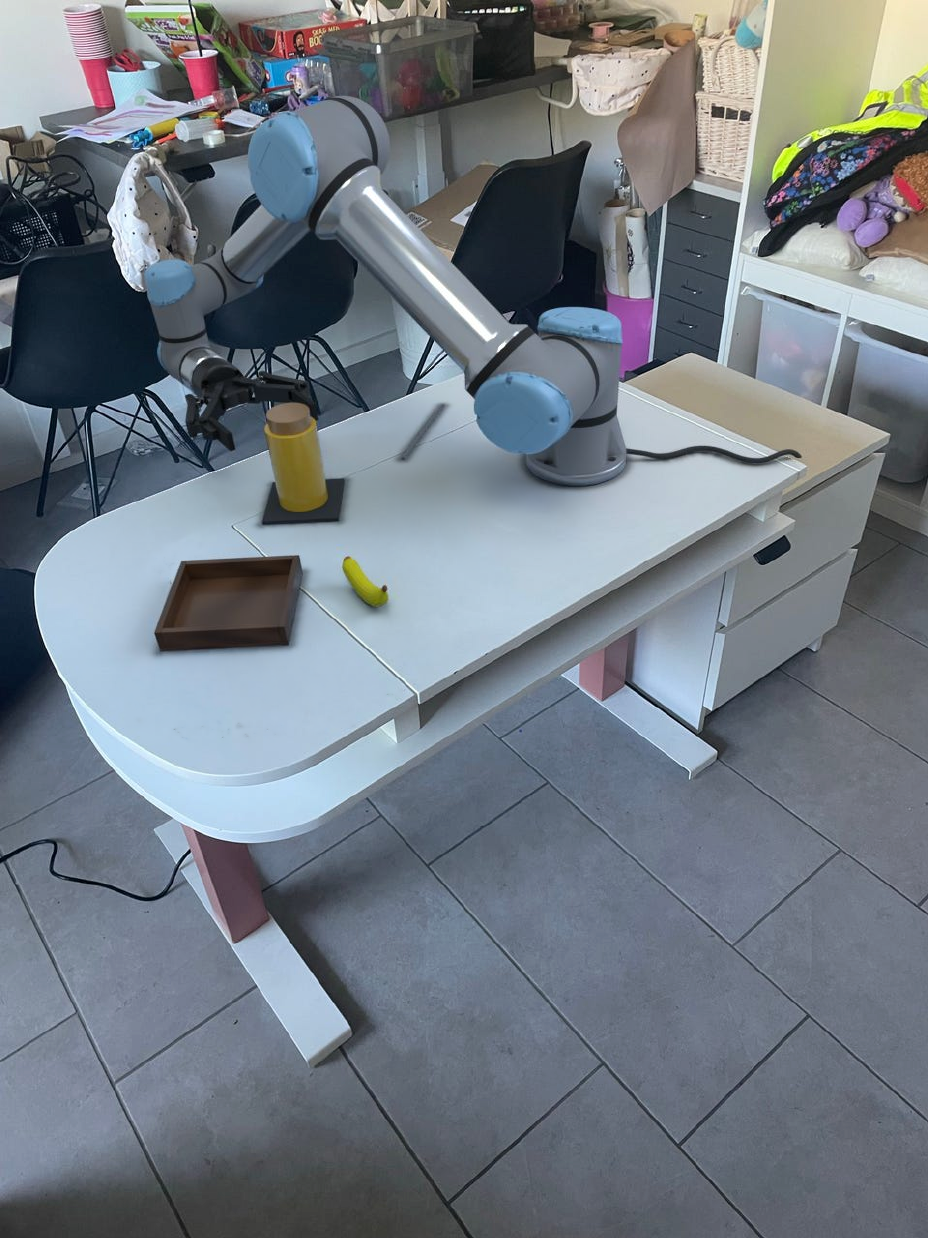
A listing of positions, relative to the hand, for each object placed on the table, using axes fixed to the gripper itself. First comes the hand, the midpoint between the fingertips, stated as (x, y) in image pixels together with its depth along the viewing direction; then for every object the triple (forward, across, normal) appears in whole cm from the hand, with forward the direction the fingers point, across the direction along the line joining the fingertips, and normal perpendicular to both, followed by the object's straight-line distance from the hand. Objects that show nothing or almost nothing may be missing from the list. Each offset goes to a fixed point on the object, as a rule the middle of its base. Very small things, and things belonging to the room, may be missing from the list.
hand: (274, 426), depth 132 cm
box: (+23, +19, -10) cm, 32 cm away
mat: (+6, 0, -10) cm, 12 cm away
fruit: (+32, +5, -10) cm, 34 cm away
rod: (-1, -26, -10) cm, 28 cm away
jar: (+6, 0, -9) cm, 11 cm away
